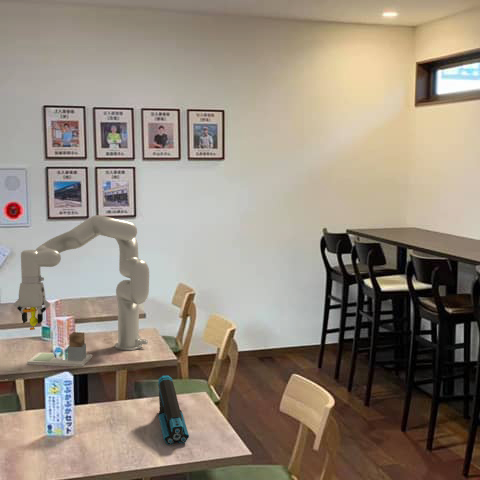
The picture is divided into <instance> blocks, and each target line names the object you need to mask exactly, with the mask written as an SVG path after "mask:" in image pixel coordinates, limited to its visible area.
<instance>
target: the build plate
mask: <svg viewBox="0 0 480 480" xmlns="http://www.w3.org/2000/svg"><path fill="white" fill-rule="evenodd" d="M53 353H54V352H40V351H39V352H37V353H36V354H35V355H33V357H31V358H30V359H29V360H27V361H26V364H27V365H35V366H37V365H38V366H39V365H40V366H54V367H55V366H56V367H57V366H58V367H60V366H61V367H79V368H81V367H84V366H85V365H86V364H87V363H88V362H89V361H90V360H91V359H92V357H93V355H92V354H90V353H89V354H87V353H86V358H85V359H84V360H82V361H68V358H67V359H66V360H59V359H56V358H55V357H54V355H53Z"/></svg>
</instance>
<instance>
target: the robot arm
mask: <svg viewBox="0 0 480 480" xmlns="http://www.w3.org/2000/svg"><path fill="white" fill-rule="evenodd" d="M137 234H138V228H137V226H136V224H134V223H133V222H132V221H127V220H122V219H116V218H113V217H109V216H107V215H106V216H105V215H99V214H96V215H92V216H90V217H89V218H88V219H85V220H84V221H83V222H81V223H80V224H78V225H77V226H75V227H74V228H72V229H70V230H69V231H66V232H64V233H60V234H59V235H57V236H55V237H52V238H50V239H49V240H47V241H44V242H43V243H42V244H41V245H38V247H37V248H36V249H24V250H22V251H21V252H20V266H21V267H20V272H21V282H20V284H19V287H18V288H19V289H18V299H17V300H16V301H15V302H14V303H13V306H14V307H15V309H17V311H19V312H20V314H21V320H22V323H23V324H25V323H27V322H28V312H23V310H25V309H28V308H30V307H36V309H37V311H38V314H37V317H36V318H37V319H38V322H37V324H41V323H42V322H43V320H44V317H43V316H44V312H45V311H46V310H47V309H49V307H51V304H50V302H48V300H47V299H46V291H45V286H44V283H43V281H44V280H45V278H44V276H43V277H42V275H41V274H42V273H41V267H43V268H54V267H56V266H58V265H59V264H60V262H61V259H62V256H61V254H60V253H63V252H66V251H70V250H75V249H79V248H82V247H84V246H85V245H86V244H88V243H89V242H91V241H92V240H94V239H96V238H97V237H99V236H102V237H107V238H111V239H115V241H116V242H117V244H118V248H119V249H118V251H119V256H118V257H119V260H118V261H119V263H118V264H119V266H118V267H119V269H118V270H119V273H120V274H121V276H123V277H125V278H128V279H123V280H121V281H120V282H119V283H118V284H117V286H116V289H115V296H116V299H117V342H116V343H115V344H114V348H115V349H116V350H120V351H135V350H139V349H141V348H142V347H143V345H148V339H145V338H144V339H142V338H141V336H140V330H139V328H140V321H139V320H140V315H139V314H140V310H139V309H140V308H139V305H142V304H144V303H145V302H146V301H147V300H148V298H149V293H150V268H149V265H148V263H147V262H146V261H144V260H143V259H140V258H139V244H138V241H137V238H136V237H137Z"/></svg>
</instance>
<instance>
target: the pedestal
mask: <svg viewBox="0 0 480 480" xmlns="http://www.w3.org/2000/svg"><path fill="white" fill-rule="evenodd" d="M67 354H68V361H82V360H84V359H85V358H86V354H87V343H85V344H84V345H83V346H82V347H69V345H68V346H67Z"/></svg>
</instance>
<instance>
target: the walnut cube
mask: <svg viewBox="0 0 480 480" xmlns="http://www.w3.org/2000/svg"><path fill="white" fill-rule="evenodd" d="M68 336H69V337H68V341H69V343H68V344H69V345H68V346H69V347H82V346H83V345H84V344H86V343H85V339H86V337H85V332H78V331H73V332H71V333H70V334H69V335H68Z"/></svg>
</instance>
